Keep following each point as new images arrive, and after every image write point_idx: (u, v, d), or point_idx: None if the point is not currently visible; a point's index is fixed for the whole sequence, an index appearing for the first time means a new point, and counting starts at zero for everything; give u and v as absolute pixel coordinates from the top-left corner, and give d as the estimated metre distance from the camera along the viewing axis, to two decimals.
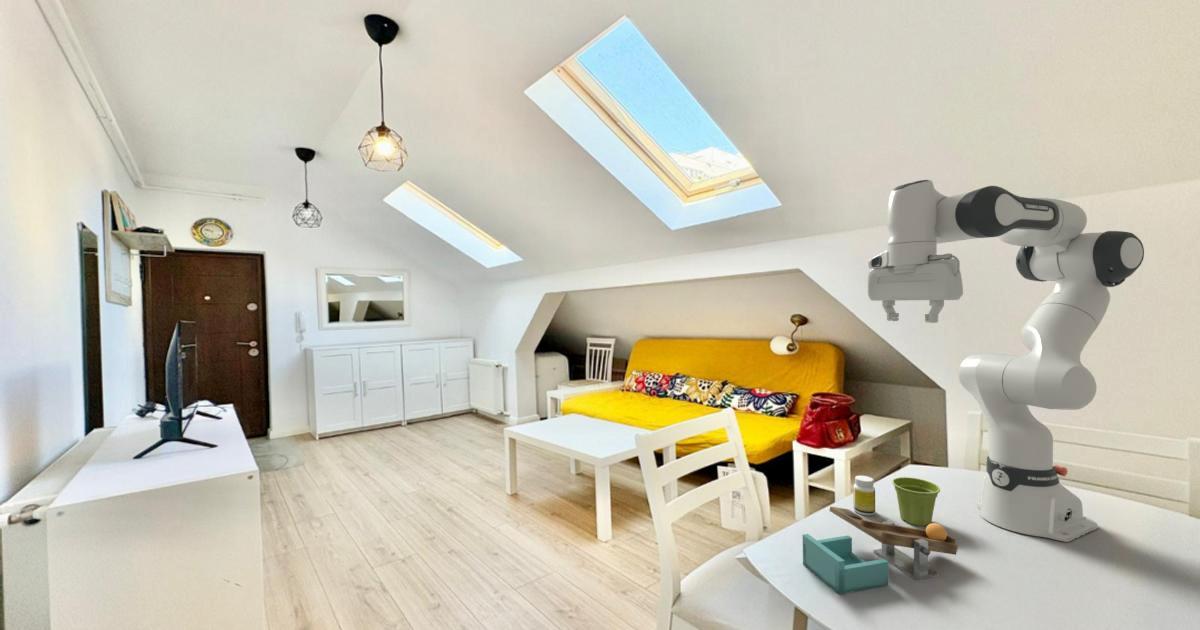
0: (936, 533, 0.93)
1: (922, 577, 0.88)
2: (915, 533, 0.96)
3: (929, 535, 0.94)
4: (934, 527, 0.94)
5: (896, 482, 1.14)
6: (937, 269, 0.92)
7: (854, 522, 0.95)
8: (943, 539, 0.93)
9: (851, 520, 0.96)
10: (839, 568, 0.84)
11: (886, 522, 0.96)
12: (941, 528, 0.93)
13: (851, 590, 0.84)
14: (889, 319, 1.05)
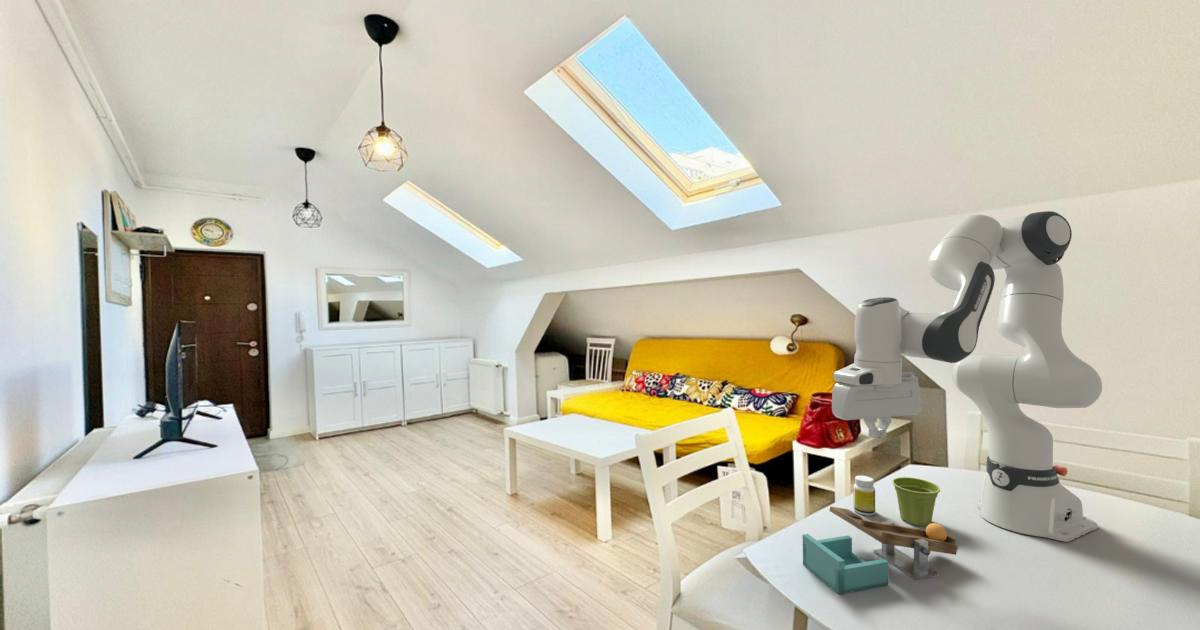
0: (936, 533, 0.93)
1: (922, 577, 0.88)
2: (915, 533, 0.96)
3: (929, 535, 0.94)
4: (934, 527, 0.94)
5: (896, 482, 1.14)
6: (914, 386, 1.00)
7: (854, 522, 0.95)
8: (943, 539, 0.93)
9: (851, 520, 0.96)
10: (839, 568, 0.84)
11: (886, 522, 0.96)
12: (941, 528, 0.93)
13: (851, 590, 0.84)
14: (877, 436, 0.99)
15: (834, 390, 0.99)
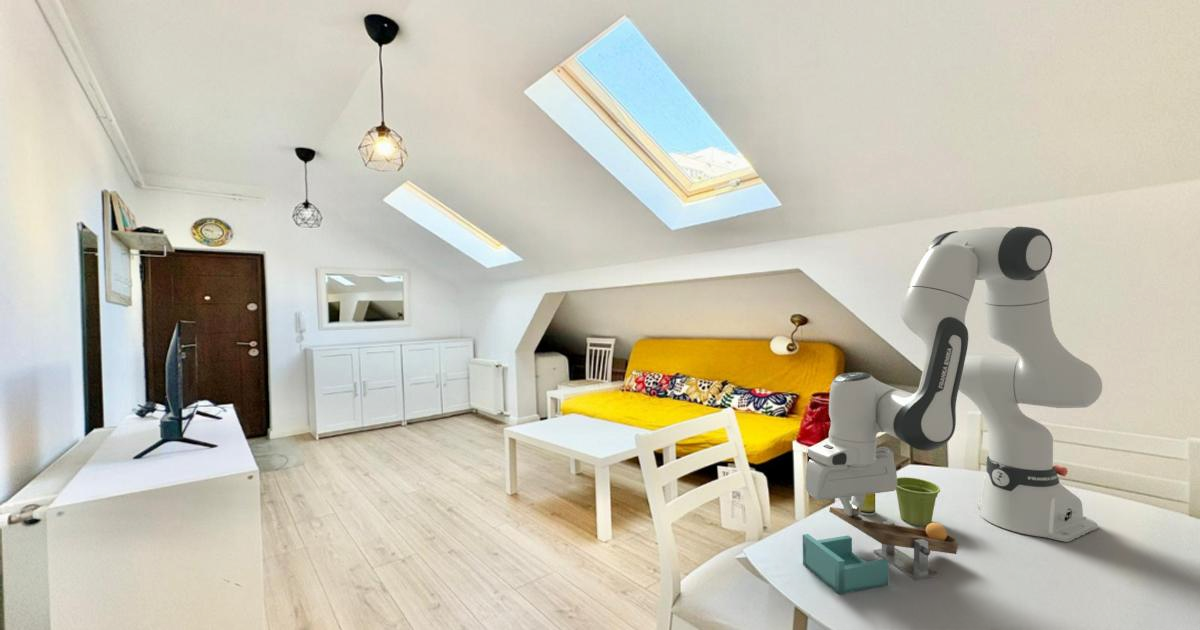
0: (936, 533, 0.93)
1: (922, 577, 0.88)
2: (915, 533, 0.96)
3: (929, 535, 0.94)
4: (934, 527, 0.94)
5: None
6: (889, 463, 0.98)
7: (854, 523, 0.95)
8: (943, 538, 0.93)
9: (851, 521, 0.96)
10: (839, 568, 0.84)
11: (886, 522, 0.96)
12: (941, 527, 0.93)
13: (851, 590, 0.84)
14: (852, 515, 0.97)
15: (808, 467, 0.98)
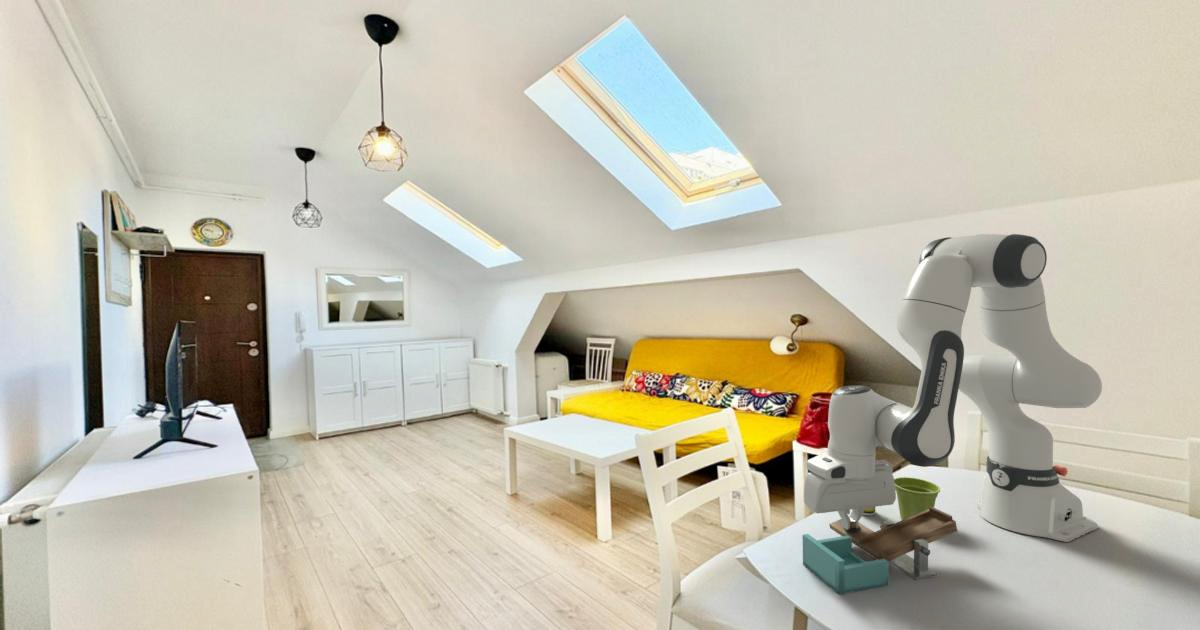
0: None
1: (922, 577, 0.88)
2: (914, 521, 0.96)
3: None
4: None
5: (896, 482, 1.14)
6: (887, 477, 0.98)
7: (853, 541, 0.95)
8: None
9: None
10: (839, 568, 0.84)
11: (886, 522, 0.96)
12: None
13: (851, 590, 0.84)
14: (850, 528, 0.97)
15: (806, 480, 0.98)
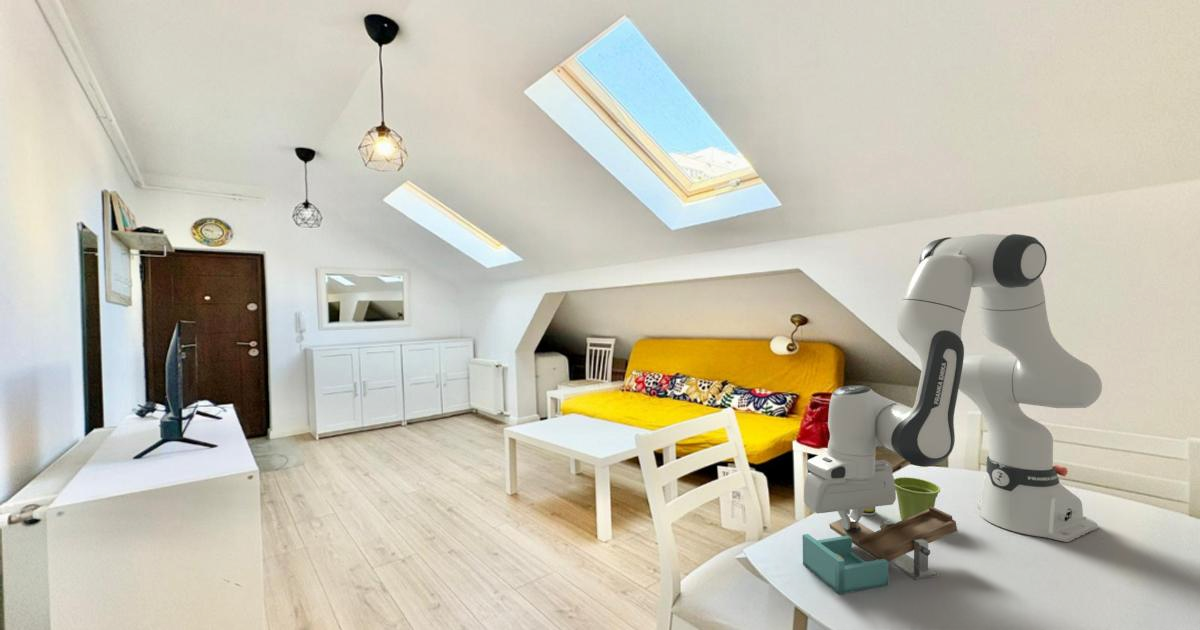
0: None
1: (922, 577, 0.88)
2: (914, 521, 0.96)
3: None
4: None
5: (896, 482, 1.14)
6: (887, 477, 0.98)
7: (853, 541, 0.95)
8: None
9: None
10: (839, 568, 0.84)
11: (886, 522, 0.96)
12: None
13: (851, 590, 0.84)
14: (850, 528, 0.97)
15: (806, 480, 0.98)
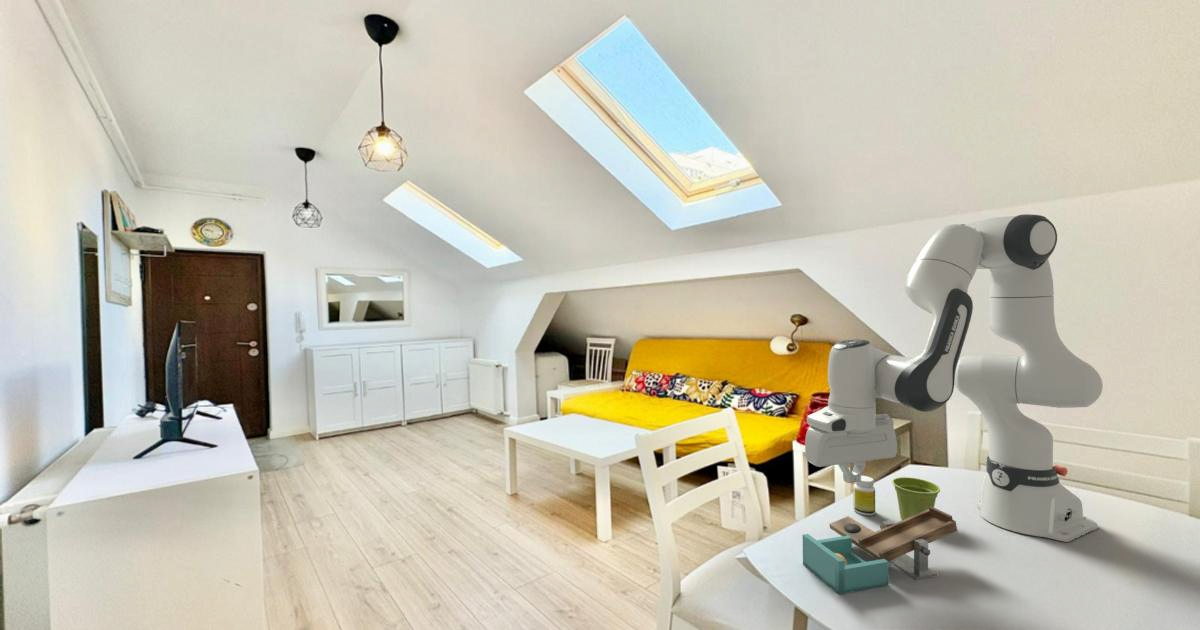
0: None
1: (922, 577, 0.88)
2: (914, 521, 0.96)
3: None
4: None
5: (896, 482, 1.14)
6: (888, 430, 0.98)
7: (853, 541, 0.95)
8: None
9: None
10: (839, 568, 0.84)
11: (886, 522, 0.96)
12: None
13: (851, 590, 0.84)
14: (851, 481, 0.98)
15: (807, 435, 0.98)
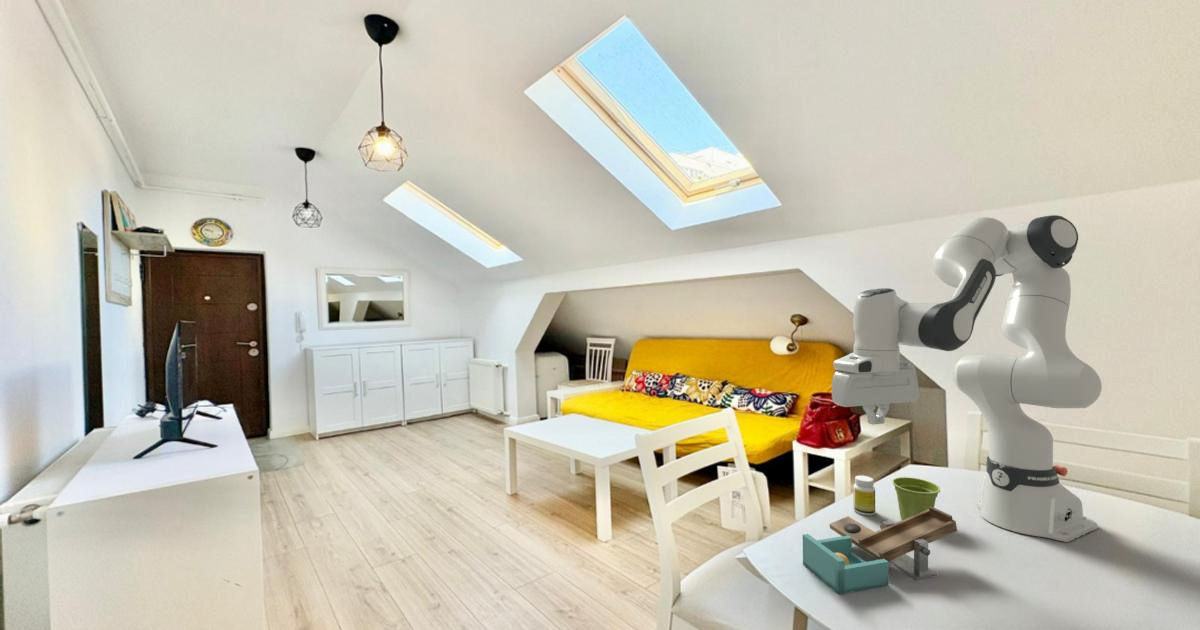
0: None
1: (922, 577, 0.88)
2: (914, 521, 0.96)
3: None
4: None
5: (896, 482, 1.14)
6: (911, 374, 1.03)
7: (853, 541, 0.95)
8: None
9: None
10: (839, 568, 0.84)
11: (886, 522, 0.96)
12: None
13: (851, 590, 0.84)
14: (875, 423, 1.03)
15: (834, 378, 1.03)
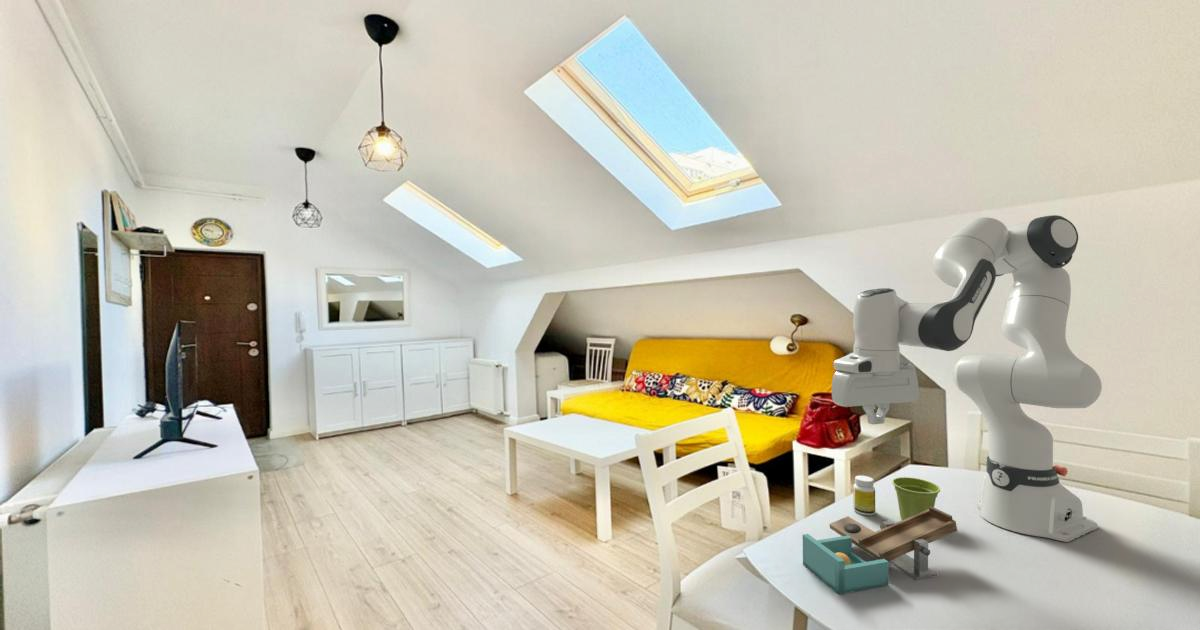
0: None
1: (922, 577, 0.88)
2: (914, 521, 0.96)
3: None
4: None
5: (896, 482, 1.14)
6: (911, 374, 1.03)
7: (853, 541, 0.95)
8: None
9: None
10: (839, 568, 0.84)
11: (886, 522, 0.96)
12: None
13: (851, 590, 0.84)
14: (875, 423, 1.03)
15: (834, 378, 1.03)
